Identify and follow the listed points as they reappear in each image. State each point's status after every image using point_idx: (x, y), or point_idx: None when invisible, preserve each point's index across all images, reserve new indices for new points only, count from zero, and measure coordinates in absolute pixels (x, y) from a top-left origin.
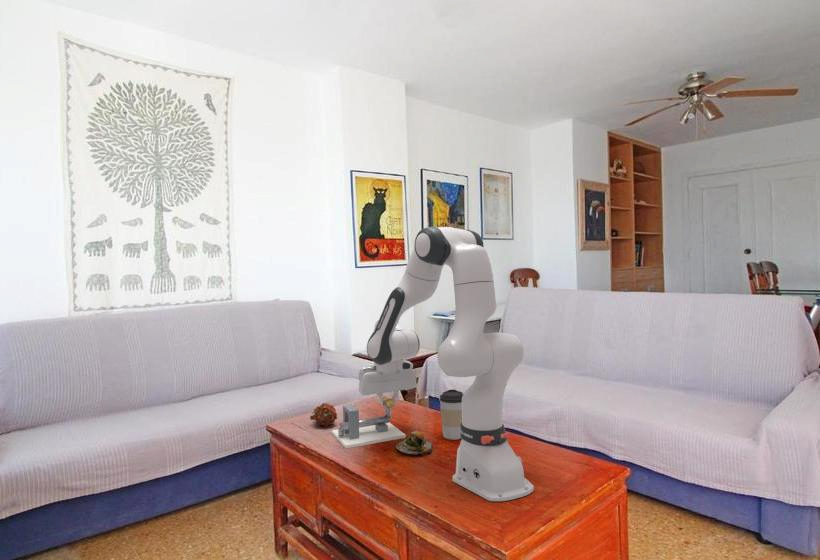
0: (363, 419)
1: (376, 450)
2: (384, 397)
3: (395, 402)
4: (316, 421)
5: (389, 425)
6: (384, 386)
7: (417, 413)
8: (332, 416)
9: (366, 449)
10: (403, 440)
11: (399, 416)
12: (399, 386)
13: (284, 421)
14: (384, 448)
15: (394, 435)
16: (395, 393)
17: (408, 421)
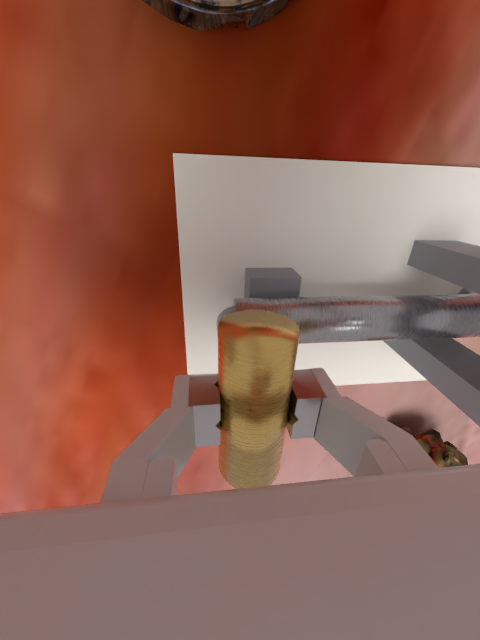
0: (404, 325)
1: (423, 32)
2: (268, 465)
3: (177, 378)
4: (454, 446)
5: (203, 340)
6: (478, 621)
7: (11, 450)
8: (426, 449)
9: (450, 92)
10: (240, 3)
11: (108, 441)
12: (36, 614)
13: None
14: (368, 36)
15: (242, 179)
16: (165, 465)
17: (82, 378)
